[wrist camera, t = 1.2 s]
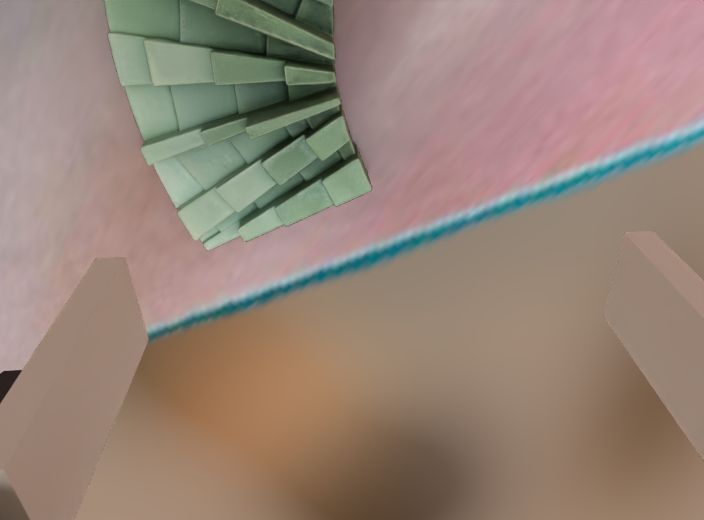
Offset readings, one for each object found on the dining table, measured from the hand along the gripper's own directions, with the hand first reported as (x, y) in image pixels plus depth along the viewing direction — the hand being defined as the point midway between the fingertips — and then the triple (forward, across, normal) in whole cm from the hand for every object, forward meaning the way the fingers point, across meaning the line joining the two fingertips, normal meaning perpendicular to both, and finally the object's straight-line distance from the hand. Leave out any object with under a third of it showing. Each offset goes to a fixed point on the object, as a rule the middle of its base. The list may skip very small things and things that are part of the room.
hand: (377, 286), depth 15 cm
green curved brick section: (+22, -7, +2) cm, 23 cm away
